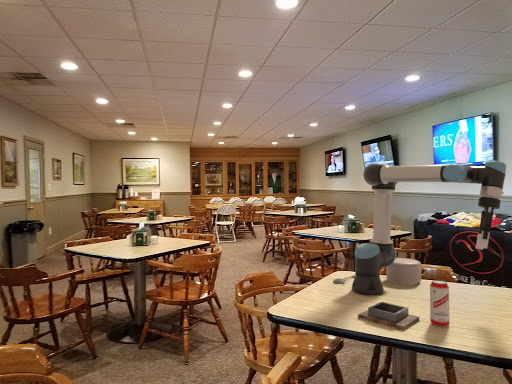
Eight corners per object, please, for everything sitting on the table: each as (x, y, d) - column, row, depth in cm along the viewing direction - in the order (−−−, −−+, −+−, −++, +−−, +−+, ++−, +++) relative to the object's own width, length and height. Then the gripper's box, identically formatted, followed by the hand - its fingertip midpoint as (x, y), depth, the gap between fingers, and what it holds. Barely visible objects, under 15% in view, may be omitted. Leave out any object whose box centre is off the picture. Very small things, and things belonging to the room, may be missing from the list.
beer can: (452, 328, 124) (451, 284, 124) (433, 327, 125) (432, 283, 125) (446, 322, 130) (445, 280, 130) (428, 321, 131) (427, 279, 131)
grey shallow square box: (368, 315, 134) (368, 307, 134) (381, 308, 141) (381, 301, 141) (395, 322, 126) (395, 314, 126) (408, 315, 133) (408, 307, 133)
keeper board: (358, 318, 135) (358, 314, 135) (375, 309, 145) (375, 306, 145) (403, 330, 122) (403, 326, 122) (419, 320, 132) (419, 316, 132)
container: (418, 287, 180) (418, 264, 180) (383, 282, 190) (382, 261, 190) (423, 280, 195) (423, 259, 195) (390, 276, 205) (389, 256, 205)
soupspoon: (330, 285, 190) (340, 288, 185) (330, 279, 189) (341, 281, 185) (349, 276, 206) (359, 279, 201) (349, 271, 205) (359, 273, 201)
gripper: (506, 194, 130) (496, 249, 128) (496, 204, 152) (487, 251, 150) (482, 191, 134) (473, 244, 132) (476, 201, 156) (468, 247, 154)
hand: (480, 248), depth 141 cm, fingers open, 13 cm apart
